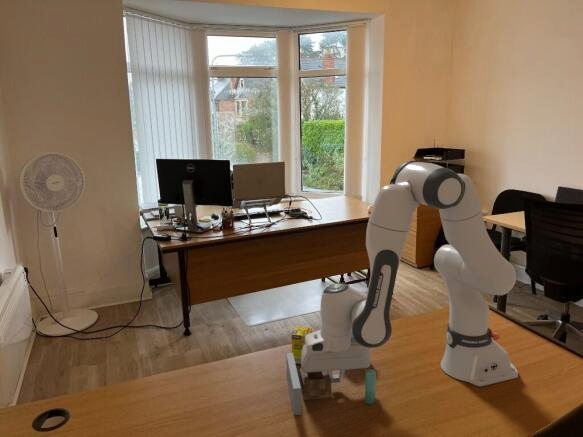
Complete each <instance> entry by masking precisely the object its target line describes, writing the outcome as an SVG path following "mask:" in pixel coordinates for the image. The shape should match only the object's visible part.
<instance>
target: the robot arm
mask: <svg viewBox="0 0 583 437" xmlns="http://www.w3.org/2000/svg"><path fill="white" fill-rule="evenodd" d="M420 204H421V205H424V206H427V207H430V208H431V209H436V210H439V217H440V220H441V225H442V229H443V232H444V237H445V240H446V241H447V243H448V244H443V245H441V246H440V247H439V248H438V249H437V251H436V252H435V254H434V258H433V264H434V268H435V270H436V272H438V274H439V275H440V277H441V278H442V280H443V283H444V285H445V289H446V293H447V295H448V299H449V300H448V301H449V302H448V303H449V315H448V316H449V318H448V323H447V326H446V338H445V339H446V345H445V346H446V347H445V349H444V354H443V356H442V359H441V361H440V367H441V369H442V371H443V372H444V373H446V374H447V375H449V376H450V377H452V378H454V379H457V380H459V381H463V382H467V383H470V384H472V385H474V386H476V387H483V386H484V387H486V386H489V385H492V384H497V383H501V382H504V381H508V380H509V381H510V380H514V379H517V378H519V372H518V369H517V368H516V366H515V365H514V364H513V363H512V362H511V358H510V355H509V353H508V352H507V351H506V349H505V348H504V347H503V346H501V345H500V344H499V343H497V342H496V341H498V340H499V339H500V338H501V337H500V334H499V333H497V331H493V330H492V329H491V328H490V327H489V317H490V307H489V304H488V302H487V301H486V299H485V298H484V297H483V296H482V294H481V292H482V293H483V294H489V295H495V296H504V295H506V294H507V293H509V292H510V291H511V290H512V289H513V288H514V287H515V284H516V283H517V282H516V281H517V271H516V268H515V266H514V265H513V264H512V263H511V262H509V261H508V259H506V258H505V256H503V255H502V254H501V253H500V251H499V249H497V247H496V246H495V244H494V242H493V241H492V239H491V237H490V235H489V233H488V231H487V228H486V223H485V220H484V219H485V218H484V214H483V209H482V204H481V201H480V197H479V193H478V190H477V189H476V186H475V184H474V182H473V180H472V178H471V177H469V175H467V174H464V173H457V172H455V171H454V170H453V169H451V168H448V167H444V166H441V165H439V164H436V163H432V162H423V161H420V160H419V161H418V160H407V161H405V162H403V163H402V164H400V165H399V166H398V167H397V168H396V170H395V171H394V173H393V176H392V178H391V180H390V181H389V184H386V185H384V186H382V187H381V188H380V189H379V190H378V193H377V195H376V196H375V199H374V202H373V205H372V207H371V211H370V214H369V218H368V222H367V227H366V232H365V233H366V234H365V247H366V251H367V256H368V261H369V268H370V270H369V271H370V277H369V282H368V288H367V292H363V291H359V290H356V289H355V288H353V287H351V286H350V285H349V284H347V283H344V282H343V283H342V282H337V283H332V284H329V285H328V286H327V287H325V288H324V289H323V291H322V294H321V298H320V318H321V325H320V328H319V329H318V330H316V331H314V332H313V331H312V333H310V334H307V335H306V336H305V345H304V346H303V348H302V353H301V366H300V368H302V370H303V371H304V372H305V373H309V372H321V371H327V373H328V375H329V376H330V379H331V384H334V383H335V384H336V383H337V384H338V383H341V380H342V377H343V375H344V374H345V372H346V370H354V369H357V370H358V369H367V368H369V367H370V366H371V352H370V349H374V348H379V347H382V346H383V345H384V344H386V343H387V342H388V341H389V340H390V338H391V335H392V333H393V332H392V331H393V330H392V323H391V320H390V319H391V318H390V310H391V305H392V299H393V296H394V295H393V294H394V291H395V284H396V281H397V280H396V279H397V276H398V275H397V273H398V270H399V267H400V262H401V260H402V256H403V253H404V250H405V247H406V243H407V240H408V237H409V235H410V234H409V233H410V229H411V225H412V219H413V215H414V213H415V212H416V211H417V209H418V208H419V206H420ZM351 329H352V333H353V337H351ZM333 371H338V372H337V374H333V373H334V372H333Z"/></svg>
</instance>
